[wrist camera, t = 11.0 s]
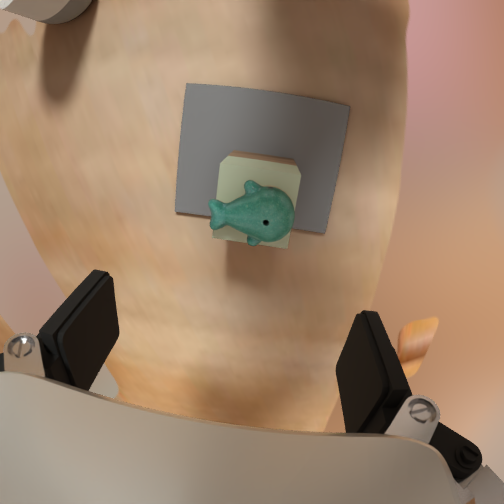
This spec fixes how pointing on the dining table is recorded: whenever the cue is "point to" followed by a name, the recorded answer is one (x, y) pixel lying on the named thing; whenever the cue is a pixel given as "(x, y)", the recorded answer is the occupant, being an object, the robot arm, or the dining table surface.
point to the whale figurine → (255, 213)
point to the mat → (260, 144)
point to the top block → (261, 172)
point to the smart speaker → (46, 9)
